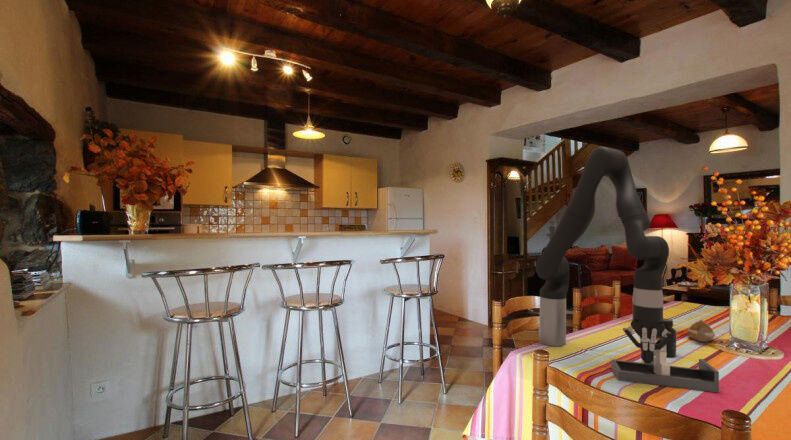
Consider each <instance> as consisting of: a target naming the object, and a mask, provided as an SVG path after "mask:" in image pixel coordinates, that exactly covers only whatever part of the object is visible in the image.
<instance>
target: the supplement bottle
mask: <svg viewBox="0 0 791 440" xmlns="http://www.w3.org/2000/svg"><path fill="white" fill-rule="evenodd" d="M663 324H664V326H665V329H666V330H667V331H668V332H670V333H672V334H673V338H672V339H671V340H670V341H669V342H668V343H667V345H666V353H667V356H666V358H674V357H676V356H677V330H676V329H675V328H674V321H673V320H672V319H669V318H664V317H663ZM662 333H663V332H662ZM662 333H661V334H660V335H659V336H658V338H661V337H662Z"/></svg>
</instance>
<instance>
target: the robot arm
mask: <svg viewBox="0 0 791 440" xmlns="http://www.w3.org/2000/svg"><path fill="white" fill-rule="evenodd" d="M603 177H606V178H608V179H609V180H610V181H611V183H612V184H613V186H614V188H615V193H616V194H615V195H616V197H615V199H616V200H615V206H616V207H615V208H616V211H617V215H618V217H619V219H620V221H621V223H622V225H623V228H624V235H625V236H624V237H625V243H626V244H625V245H626V250H627V252H628V253H629V254H630V256H631V257H632V258H633V259H635V260H638V261H644V264H643V265H642V266H641V267H637V268H636V269H635V270H634V272H633V292H632V300H631V301H632V320H631V322H630V325H629V326H628V327H623V328H622V331H623V332H624V334H625V335H626V336H627V337H628V338H629V340H630V341H631V342H632V344H633V345H634V346H635V347H636V348H639V349H640V359H641V360H642V361H643V363H644V362H645V363H650V364H651V362H653V357H654V350H657V349H658V350H660V349H662V348H663V347H664V346H665V345H666V344H667V343H668V342H669V341H670V340H671V339H672V338H673V334H672V333H670V332H668V331H667V330H666V329H665V326H664V324H663V318H664V293H663V276H664V275H663V274H664V272H665V270H666V269H665V268H666V265H667V262H668V259H669V255H670V247H669V244H668V242H667V241H666V239H665V238H664V237H661V236H657V235H645V233H644V231H647V230H648V229H649V228H650V227H651V220H650V218H649V215H648V213H647V211H646V209H645V207H644V205H643V204H642V201H641V199H640V197H639V193H638V191H637V188H636V185H635V181H634V178H633V174H632V171H631V167H630V163H629V159H628V157H627V155H626V154H625V152H623V151H622V150H619V149H616V148H611V147H607V146H598V147H596V148H595V149H594V150H592V152H590V154H589V156H588V158H587V160H586V162H585V164H584V168H583V170H582V172H581V175H580V178H579V180H578V183H577V185H576V188H575V190H574V192H573V193H572V196H571V198H570V200H569V202H568V204H567V206H566V208H565V209H564V211H563V214H562V216H561V218H560V220H559V222H558V224H557V226H556V228H555V230H554V232H553V233H552V236H551V238H550V239H549V241H548V243H547V244H546V246H545V248H544V249H543V251H541V254H540V255H539V257H538V259H537V260H536V264H535V271H536V274H537V276H538V277H539V278H540V279H543V280H545V283H544V285H543V286H541V288H540V290H539V316H538V317H539V319H538V320H539V322H538V323H539V324H538V325H539V327H538V328H539V329H538V333H539V334H538V338H539V339H538V340H539V341H538V342H539V344H543V345H545V346H551V347H562V346H563V347H564V346H566V344H567V342H566V341H567V294H568V291H569V286H570V265H569V261H568V259H567V258H566V256H565V255H566V254H567V252H568V250H569V249H570V248H571V247H572V246H573V245H574V244H575V243H576V242H577V241H578V240H579V239H580V238H581V237H582V236H583V235H584V234H585V233H586V231H587V230H588V227H589V226H590V225H591V222H592V220H593V218H594V217H595V213H596V192H597V189H598V187H599V185H600V183H601V181H602V179H603ZM634 332H635V333H636V334H637V336H638V337H639V341H638V340H637V339H636V337H634V336H633V335H634ZM662 332H663V333H662ZM661 333H662V337H661V338H660V339H659V340H658V341H657V342H656V338H658V336H659V335H660V334H661ZM647 340H648V343H647Z"/></svg>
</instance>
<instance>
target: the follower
mask: <svg viewBox="0 0 791 440" xmlns="http://www.w3.org/2000/svg"><path fill="white" fill-rule="evenodd" d="M666 356H667V353H666V352H665V351H664V350H663V349H660V350H658V349H657V350H656V356H654V373H655V374H656V375H665V376H670V366H671V365H670V364H669V363H668V362H667V357H666Z"/></svg>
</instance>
